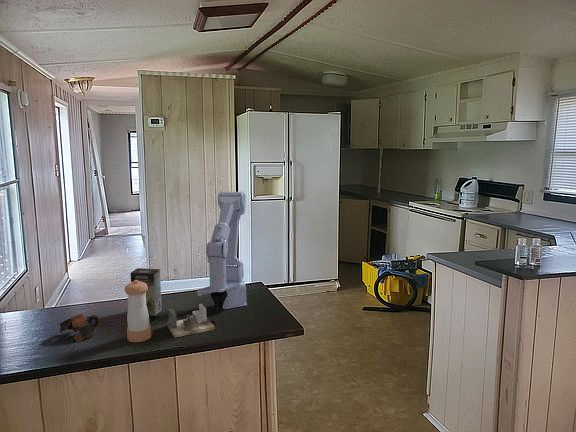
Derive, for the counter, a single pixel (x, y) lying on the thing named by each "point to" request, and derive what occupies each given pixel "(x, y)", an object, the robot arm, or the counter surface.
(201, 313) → the grey stepped block
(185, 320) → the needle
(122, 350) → the counter surface
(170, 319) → the anvil
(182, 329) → the gauge base
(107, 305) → the counter surface
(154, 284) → the coffee box
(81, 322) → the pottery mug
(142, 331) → the salt shaker
